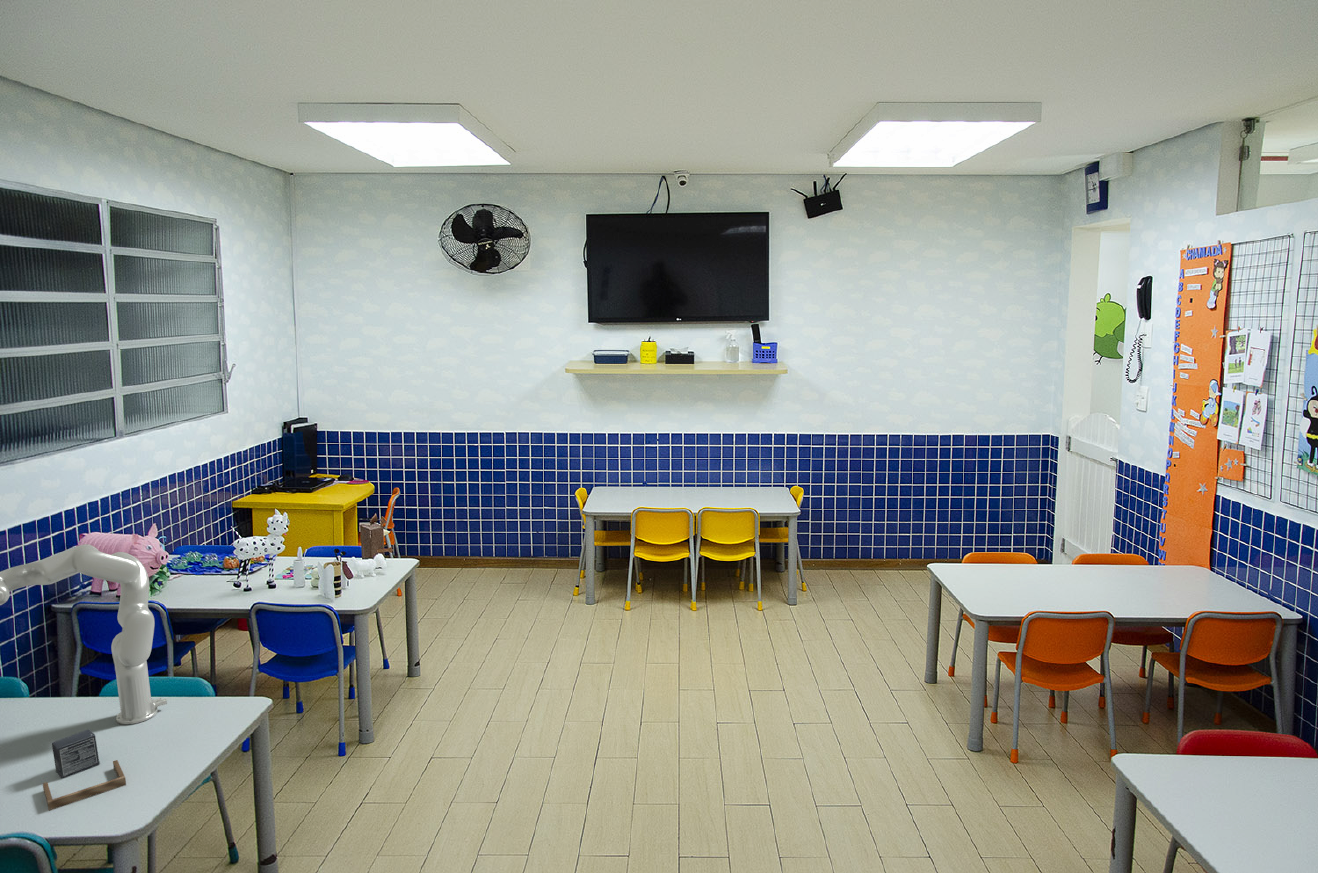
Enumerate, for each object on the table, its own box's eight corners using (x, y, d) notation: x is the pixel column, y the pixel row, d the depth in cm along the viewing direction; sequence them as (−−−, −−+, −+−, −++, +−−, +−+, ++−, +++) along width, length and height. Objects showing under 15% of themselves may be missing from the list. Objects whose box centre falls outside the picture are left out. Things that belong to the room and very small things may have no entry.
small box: (93, 757, 274) (89, 728, 272) (100, 764, 270) (96, 734, 268) (55, 772, 266) (50, 741, 264) (61, 779, 262) (57, 748, 260)
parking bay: (118, 767, 268) (117, 760, 268) (126, 785, 259) (125, 777, 258) (43, 791, 256) (42, 783, 255) (49, 810, 246) (48, 803, 246)
